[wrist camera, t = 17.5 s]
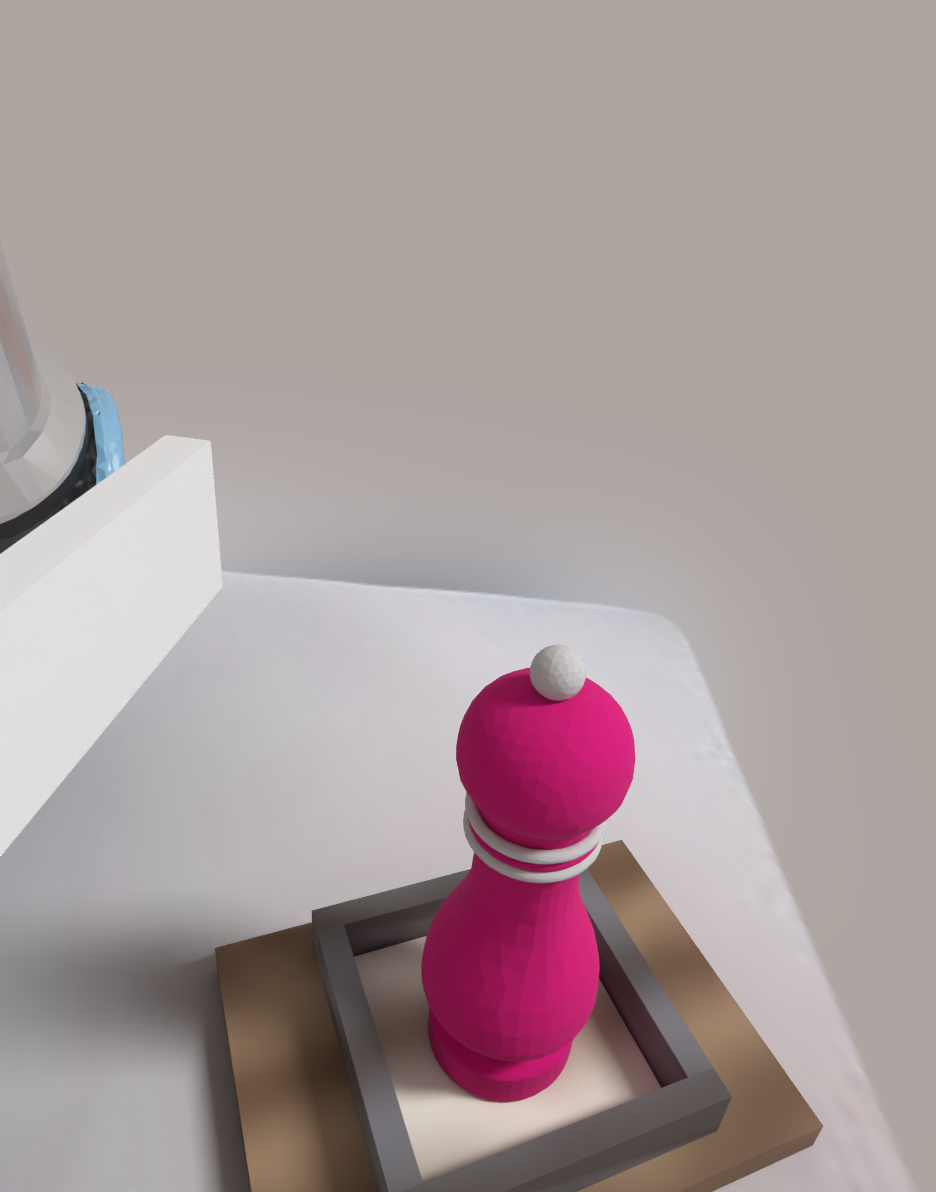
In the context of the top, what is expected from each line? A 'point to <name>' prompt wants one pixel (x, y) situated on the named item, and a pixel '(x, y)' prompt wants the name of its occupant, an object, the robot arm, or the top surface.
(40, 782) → the robot arm
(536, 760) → the pepper mill
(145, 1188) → the top surface
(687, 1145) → the socket board
